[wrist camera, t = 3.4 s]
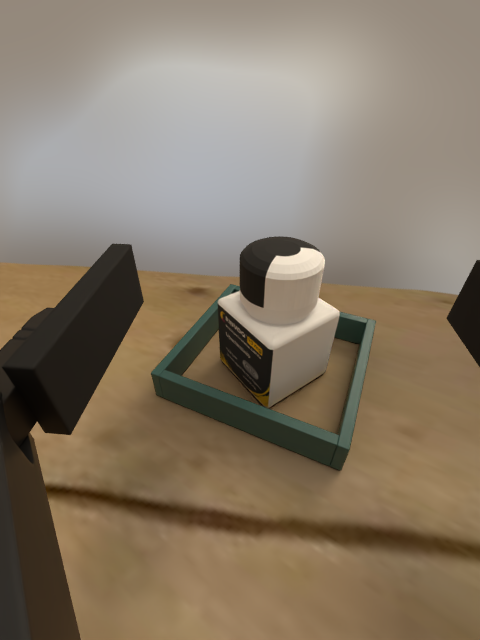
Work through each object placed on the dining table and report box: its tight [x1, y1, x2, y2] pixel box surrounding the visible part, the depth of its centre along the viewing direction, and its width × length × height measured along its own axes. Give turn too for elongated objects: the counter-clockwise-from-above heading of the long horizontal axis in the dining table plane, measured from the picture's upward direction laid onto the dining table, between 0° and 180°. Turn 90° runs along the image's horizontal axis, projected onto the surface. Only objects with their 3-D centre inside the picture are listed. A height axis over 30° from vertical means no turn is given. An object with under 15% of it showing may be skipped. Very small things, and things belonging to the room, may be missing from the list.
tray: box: [151, 284, 376, 470], centre depth 29 cm, size 16×15×3 cm
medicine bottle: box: [218, 237, 340, 408], centre depth 26 cm, size 7×7×12 cm
